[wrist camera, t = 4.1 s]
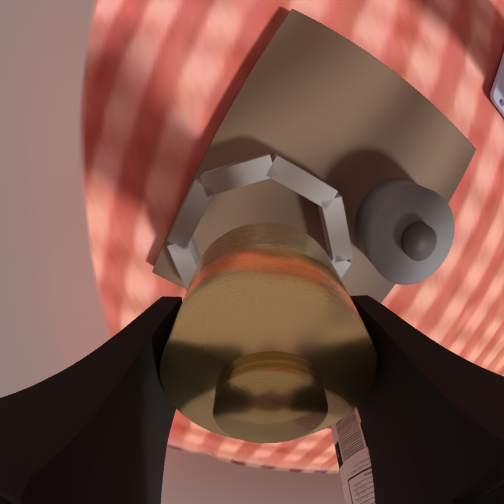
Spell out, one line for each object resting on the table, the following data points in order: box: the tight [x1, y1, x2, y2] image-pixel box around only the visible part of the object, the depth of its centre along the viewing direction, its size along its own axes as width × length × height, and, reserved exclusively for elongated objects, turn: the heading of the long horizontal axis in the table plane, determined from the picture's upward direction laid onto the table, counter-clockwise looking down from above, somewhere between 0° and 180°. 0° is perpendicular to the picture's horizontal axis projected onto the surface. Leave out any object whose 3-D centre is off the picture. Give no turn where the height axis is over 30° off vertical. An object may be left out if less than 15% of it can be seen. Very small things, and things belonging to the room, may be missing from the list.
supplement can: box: [331, 407, 375, 504], centre depth 15 cm, size 8×8×15 cm
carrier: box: [152, 9, 476, 303], centre depth 13 cm, size 13×16×4 cm
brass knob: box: [160, 223, 377, 443], centre depth 8 cm, size 5×5×5 cm
